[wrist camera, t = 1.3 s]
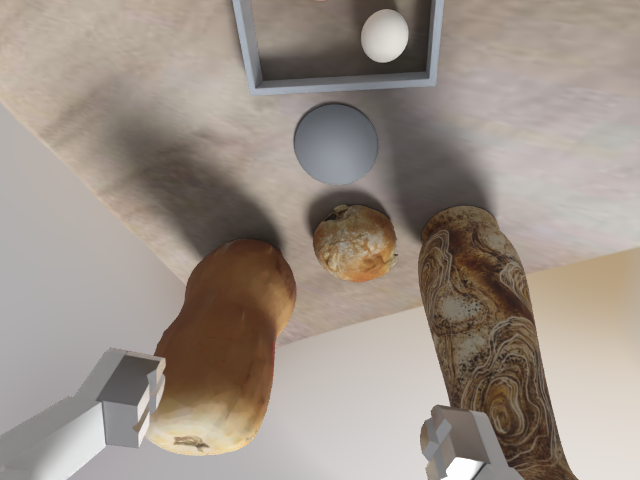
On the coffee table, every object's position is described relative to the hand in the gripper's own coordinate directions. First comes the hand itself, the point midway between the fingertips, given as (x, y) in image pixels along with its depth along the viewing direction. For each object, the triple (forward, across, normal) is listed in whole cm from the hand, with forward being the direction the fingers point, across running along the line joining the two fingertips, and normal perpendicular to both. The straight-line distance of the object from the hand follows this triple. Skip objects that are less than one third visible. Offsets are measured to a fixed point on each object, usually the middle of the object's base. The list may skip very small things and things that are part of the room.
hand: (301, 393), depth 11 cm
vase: (+32, -19, +9) cm, 39 cm away
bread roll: (+34, -8, +12) cm, 37 cm away
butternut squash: (+36, +5, +20) cm, 41 cm away
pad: (+33, -2, +1) cm, 33 cm away
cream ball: (+31, -4, -10) cm, 33 cm away
